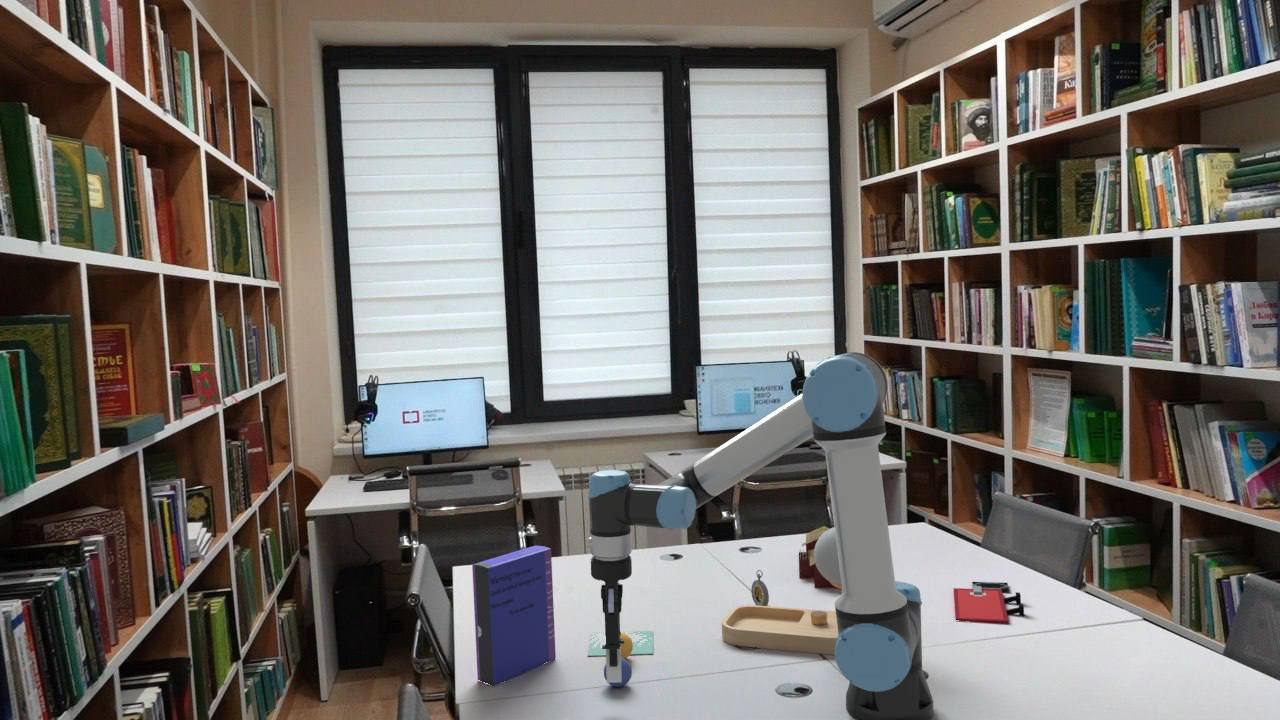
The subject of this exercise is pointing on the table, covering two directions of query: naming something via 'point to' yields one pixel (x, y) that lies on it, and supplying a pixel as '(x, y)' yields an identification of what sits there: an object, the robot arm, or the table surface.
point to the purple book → (513, 614)
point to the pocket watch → (759, 592)
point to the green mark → (636, 649)
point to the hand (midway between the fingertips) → (614, 680)
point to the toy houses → (812, 560)
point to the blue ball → (625, 672)
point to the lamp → (790, 615)
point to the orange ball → (626, 646)
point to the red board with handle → (985, 603)
